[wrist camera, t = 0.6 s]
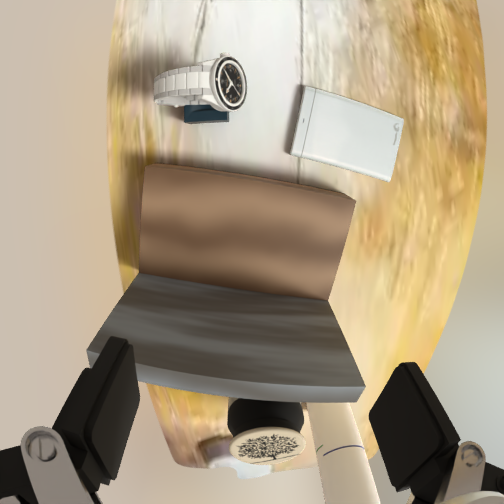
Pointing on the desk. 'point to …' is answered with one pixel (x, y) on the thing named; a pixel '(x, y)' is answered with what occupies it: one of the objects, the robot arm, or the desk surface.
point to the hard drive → (346, 134)
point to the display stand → (237, 288)
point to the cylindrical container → (341, 455)
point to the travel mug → (265, 430)
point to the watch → (204, 89)
